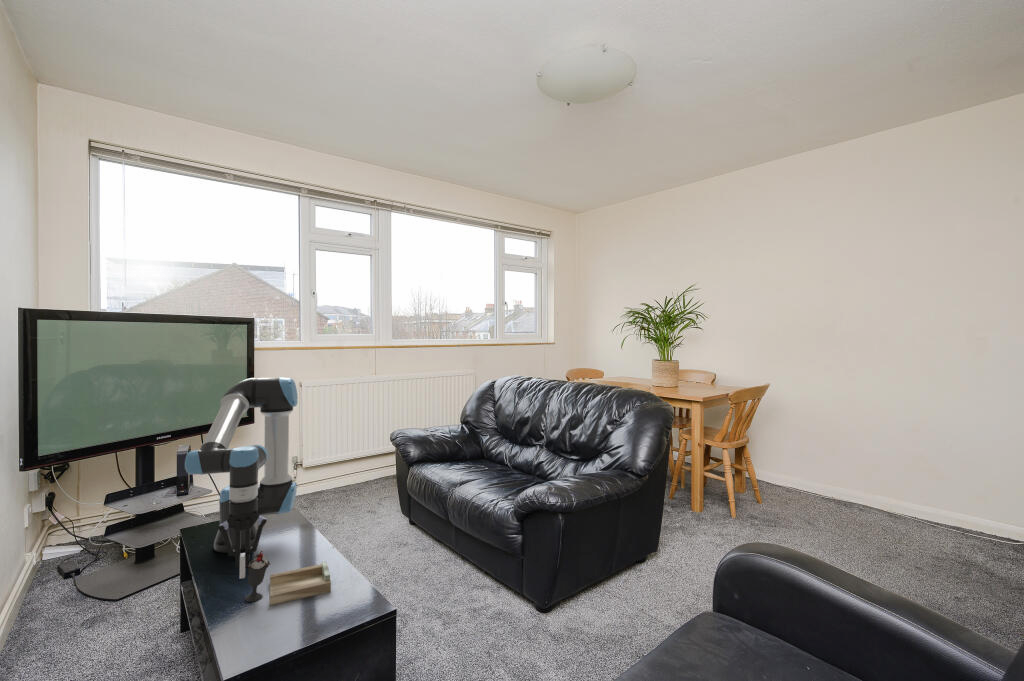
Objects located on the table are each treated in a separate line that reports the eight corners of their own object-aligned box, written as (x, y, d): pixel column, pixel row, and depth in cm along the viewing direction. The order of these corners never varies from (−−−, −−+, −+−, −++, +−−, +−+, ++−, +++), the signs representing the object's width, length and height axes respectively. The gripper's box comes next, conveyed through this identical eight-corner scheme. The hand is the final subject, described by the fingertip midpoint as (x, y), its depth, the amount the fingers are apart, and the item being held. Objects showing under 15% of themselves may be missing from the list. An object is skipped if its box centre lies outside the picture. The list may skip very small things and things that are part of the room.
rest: (270, 584, 148) (270, 570, 148) (326, 571, 156) (326, 559, 156) (270, 606, 136) (270, 591, 136) (330, 591, 144) (330, 577, 144)
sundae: (254, 605, 136) (261, 554, 137) (235, 600, 138) (242, 550, 138) (270, 594, 143) (276, 546, 143) (252, 590, 144) (258, 542, 145)
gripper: (217, 505, 133) (215, 587, 132) (267, 499, 138) (266, 576, 138) (219, 498, 139) (218, 575, 139) (267, 492, 145) (266, 566, 145)
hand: (242, 576), depth 139 cm, fingers closed
